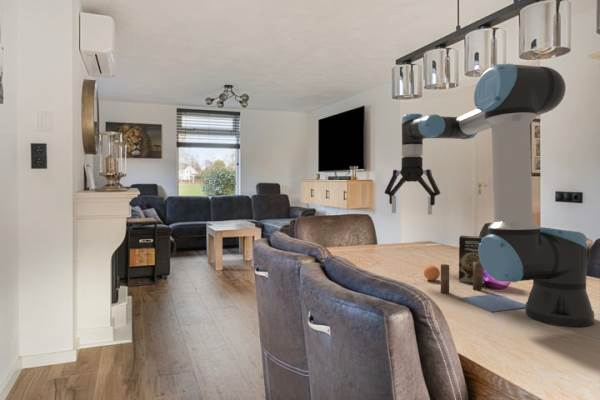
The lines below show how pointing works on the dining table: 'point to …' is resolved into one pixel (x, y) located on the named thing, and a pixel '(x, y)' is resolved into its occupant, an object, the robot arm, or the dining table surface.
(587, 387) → the dining table surface
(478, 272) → the post right
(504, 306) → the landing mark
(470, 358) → the dining table surface
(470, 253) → the coffee box
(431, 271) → the ball
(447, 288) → the post left
